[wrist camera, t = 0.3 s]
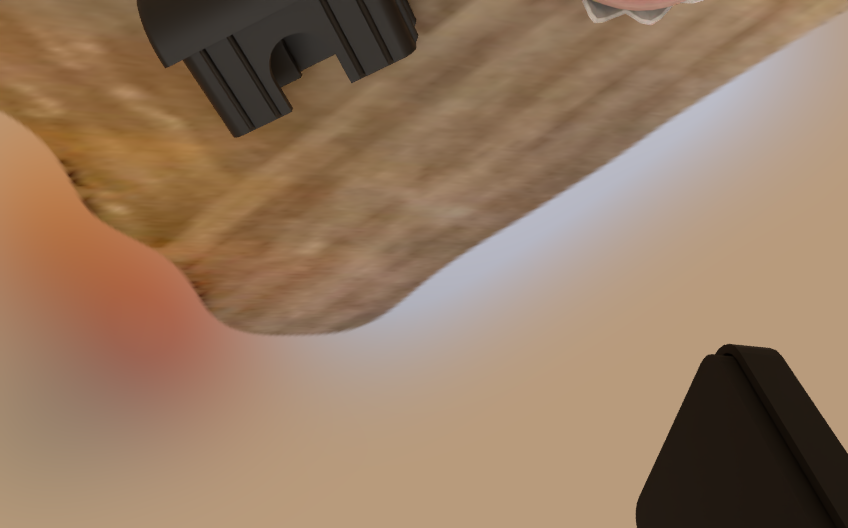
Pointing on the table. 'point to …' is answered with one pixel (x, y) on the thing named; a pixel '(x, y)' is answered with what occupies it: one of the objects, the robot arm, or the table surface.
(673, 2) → the cupcake
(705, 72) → the table surface
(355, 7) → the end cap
